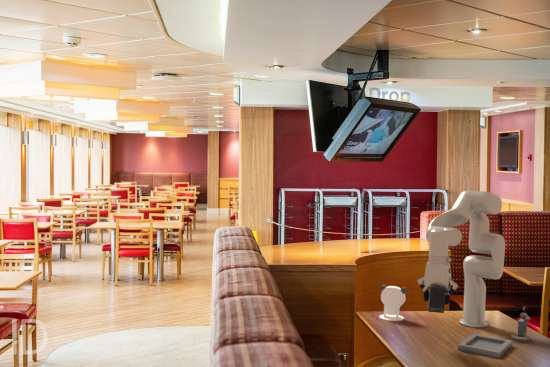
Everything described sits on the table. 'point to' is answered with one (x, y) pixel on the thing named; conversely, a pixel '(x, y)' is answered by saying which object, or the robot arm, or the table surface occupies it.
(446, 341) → the table surface
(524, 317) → the figurine
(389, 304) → the panda figurine
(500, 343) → the tray
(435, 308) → the small box
